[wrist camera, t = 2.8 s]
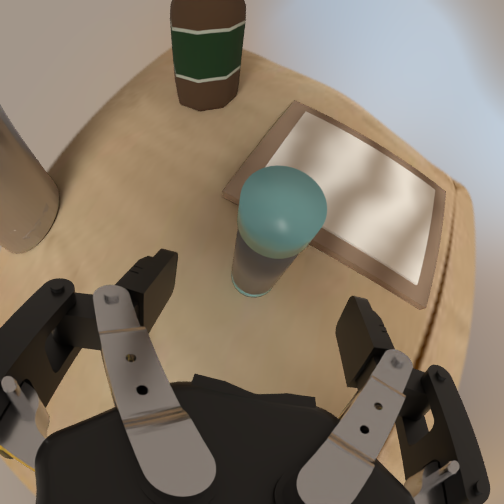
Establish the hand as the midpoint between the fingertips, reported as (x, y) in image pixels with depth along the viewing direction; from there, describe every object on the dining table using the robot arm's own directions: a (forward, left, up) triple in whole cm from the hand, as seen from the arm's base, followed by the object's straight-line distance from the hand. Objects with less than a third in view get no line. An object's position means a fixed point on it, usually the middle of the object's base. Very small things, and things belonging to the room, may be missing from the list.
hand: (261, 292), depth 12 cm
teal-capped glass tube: (-1, +3, -10) cm, 11 cm away
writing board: (+4, +16, -10) cm, 20 cm away
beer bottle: (-17, +20, -10) cm, 28 cm away
